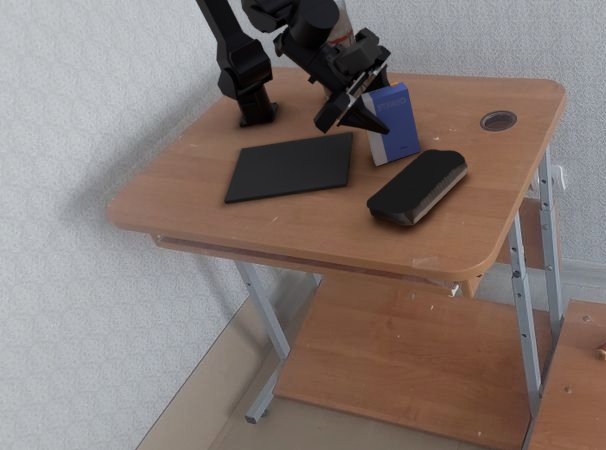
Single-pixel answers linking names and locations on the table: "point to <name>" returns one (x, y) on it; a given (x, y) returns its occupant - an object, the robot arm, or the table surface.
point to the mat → (291, 168)
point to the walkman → (392, 123)
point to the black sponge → (418, 187)
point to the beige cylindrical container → (343, 39)
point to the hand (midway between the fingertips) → (396, 122)
